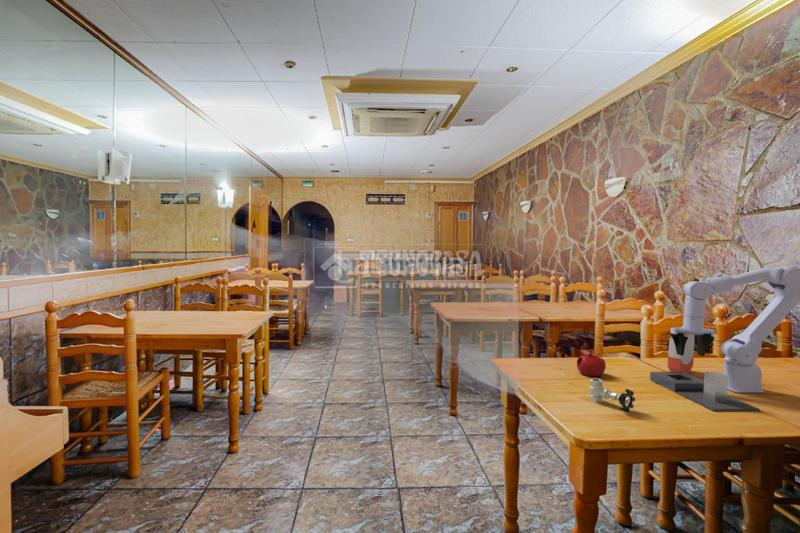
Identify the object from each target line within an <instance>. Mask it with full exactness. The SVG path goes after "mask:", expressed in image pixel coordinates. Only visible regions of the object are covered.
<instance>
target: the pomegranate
mask: <svg viewBox="0 0 800 533" xmlns="http://www.w3.org/2000/svg"><path fill="white" fill-rule="evenodd" d="M600 356H602V355H601V354H600V353H595V352H593V350H592V349H589V350H588V351H585V353H583V352H582V353H580V354H579V358H577V360H576V368H577V370H578V372H579V373H580V374H581V375H583V376H585V377H586V376H587V377H592V378H596V377H600V376H602V375H604V372H605V371H606V369H607V368H606V366H607V364H606V361H605V359H604V358H601V357H600Z"/></svg>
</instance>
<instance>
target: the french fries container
mask: <svg viewBox="0 0 800 533" xmlns="http://www.w3.org/2000/svg"><path fill="white" fill-rule="evenodd" d="M689 333H693V332H689ZM684 335H685V336H686V337H688V339H687V341H686V344H685V349H684V354H683V356H682V355H678V354H677V352H676V347H675V343H674V341H673V339H672V337H671V336H670V338H668V339H669V342H668V351H667V352H668V353H667V355H668V356H667V368H668V370H669V372H684V373H687V374H690V373H691V371H692V368H693V366H694V358H695V357H694V354H695V352H694V351H695V335H694V334H684Z"/></svg>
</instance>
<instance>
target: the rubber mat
mask: <svg viewBox="0 0 800 533" xmlns="http://www.w3.org/2000/svg"><path fill="white" fill-rule="evenodd" d="M676 394H677V395H679V396H682V397H684V398H686V399H687V398H688V400H689V399H690V400H689V401H691V400H692V401H691V402H693V401H694V403H695V402H696V404H697V403H698V405H699V404H700V405H699V406H701V405H702V406H701V407H703V406H704V407H703V408H706V409H708V410H710V411H712V412H760V408H758V407H756V406H753V405H751V404H749V403H747V402H744V401H742V400H740V399H737V398H735V397H732V396H730V395H728V394H727V402H714V401H711V400H709V399H707V398H705V397H703V394H704V392H676Z"/></svg>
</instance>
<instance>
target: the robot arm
mask: <svg viewBox="0 0 800 533" xmlns="http://www.w3.org/2000/svg"><path fill="white" fill-rule="evenodd" d="M761 281H763V282H767V283H768V285H769V286H770V288H771V289H772V290H773V292H774V295H775V297H774V298H772V299H771V301H770V302H769V303H768V304H767V305H766V307H765V308H764V309H763V310H762V311H761V312H760V313H759V314H758V316H757V317H756V318H754V320H753V321H752V322H751V323H750V324H749V325H748V326H747V327H746V329H745V330H743V332H741V333H739V334H736V335H734V336H733V337H732V338H730V339H728V340H726V341H724V342H723V343H722V345H721V346H720V350H721V354H722V355H723V356H724V361H723V362H724V365H723V374H725V375H727V376H728V387H727V390H729V391H731V392H734V393H738V394H739V393H740V394H741V393H742V394H743V393H752V394H753V393H760V394H761V393H764V390H762V381H763V380H762V378H763V374H762V373H763V372H762V370H761V368H760V366H759V365H758V364H757V363H756V362H757V360H758V359H759V358H758V357H759V354H760V353H761V352H762V351H763V348H762V343H763V341H765V340H766V338H767V337H768V336H769V335H770V334H771V333H772V332H773V331H774V330H775V329H776V328H777V326H779V324H780V323H781V322H782V321H783V320H784V319H785V318H786V317H787V316H788V315H789V314H790V313H791V312H792V311H793V309H794V308H795V307H796V306H798V305H799V304H800V267H798V266H790V267H789V266H780V265H774V266H772V265H771V266H770V267H769V266H766V267H762V268H757V269H755V270H751V271H747V272H743V273H739V274H736V275H732V276H729V275H727V274H722V273H717V274H715V276H712V277H709V278H702V277H701V278H700V279H699V281H696V280H695V281H694V280H693V281H689V282H687V283H686V284H684V287H683V288H682V293H683V294H684V295H685V299H684V300H685V301H684V311H683V320H682V326H677V327H670V338H671V337H672V339H673V341H674V343H675V347H676V352H677V354H678V355H682V356H683V354H684V349H685V344H686V341H687V339H688V337H686V336H685V335H684V334H694V336H695V337H696V338H695V339H696V343H697V347H696V348H697V350H696V352H697V354H696V355H698V356H700V357H705V355H706V352H707V350H708V348H709V347H710V345H711V344H712V342H714V341H715V335H716V333H715V332H716V330H715V329H711V328H704V326H705V315H706V307H707V306H706V303H707V298H709V297H711V296H714V295H719V294H722V293H723V294H724V293H727V292H731V291H732V290H733V289H734V288H735V287H736V286H741V285H748V284H750V283H757V282H761ZM689 332H693V333H689Z"/></svg>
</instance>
